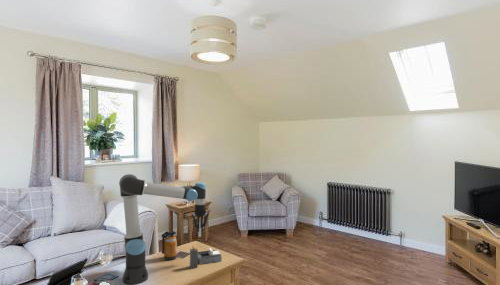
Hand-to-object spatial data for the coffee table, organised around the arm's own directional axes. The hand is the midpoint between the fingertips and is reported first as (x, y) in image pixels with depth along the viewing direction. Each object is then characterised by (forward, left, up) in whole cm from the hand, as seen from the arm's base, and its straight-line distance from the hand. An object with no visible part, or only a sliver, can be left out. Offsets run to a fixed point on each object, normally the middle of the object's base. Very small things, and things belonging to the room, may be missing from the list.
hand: (199, 236), depth 224 cm
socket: (+6, 0, -18) cm, 19 cm away
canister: (-20, +13, -18) cm, 30 cm away
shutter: (+11, 0, -14) cm, 18 cm away
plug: (-6, -9, -18) cm, 21 cm away
